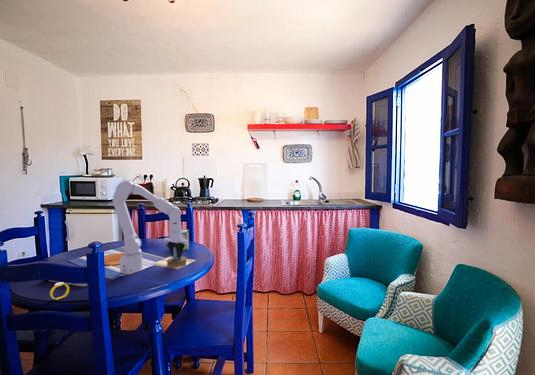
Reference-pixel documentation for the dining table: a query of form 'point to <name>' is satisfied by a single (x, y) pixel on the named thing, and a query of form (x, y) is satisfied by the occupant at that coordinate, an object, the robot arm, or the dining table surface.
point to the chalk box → (185, 237)
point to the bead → (176, 262)
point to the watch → (58, 286)
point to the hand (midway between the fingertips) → (176, 256)
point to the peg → (175, 254)
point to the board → (164, 264)
